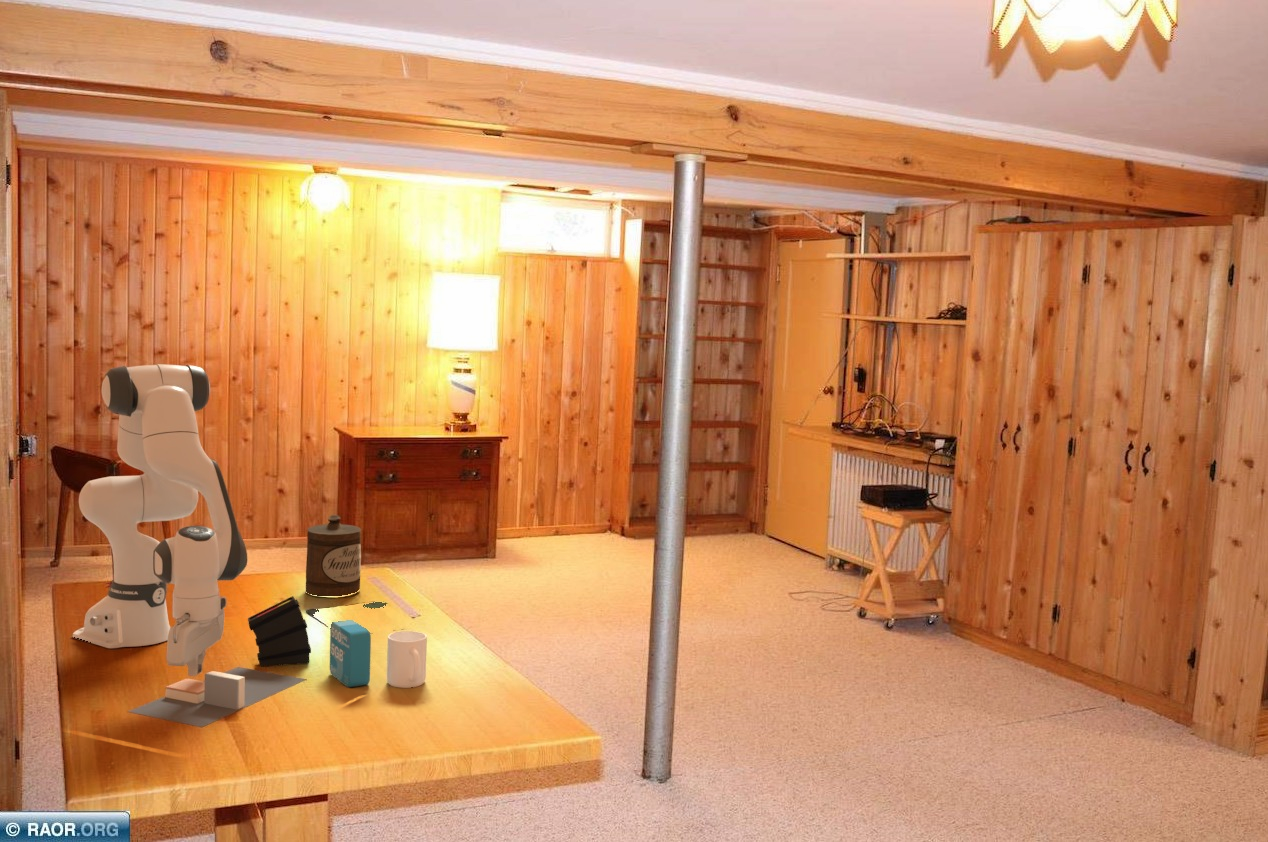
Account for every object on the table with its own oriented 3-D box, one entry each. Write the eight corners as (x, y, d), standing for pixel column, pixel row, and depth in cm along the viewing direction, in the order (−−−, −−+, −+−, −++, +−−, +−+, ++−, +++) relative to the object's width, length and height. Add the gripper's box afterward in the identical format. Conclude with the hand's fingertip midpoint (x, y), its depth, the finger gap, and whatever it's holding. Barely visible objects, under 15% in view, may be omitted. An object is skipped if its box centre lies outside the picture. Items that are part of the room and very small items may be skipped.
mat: (127, 714, 222) (127, 711, 222) (238, 669, 252) (238, 666, 252) (201, 730, 216) (201, 727, 216) (306, 681, 246) (306, 679, 246)
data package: (329, 673, 252) (330, 620, 251) (348, 670, 255) (349, 618, 254) (350, 689, 242) (351, 634, 241) (370, 686, 245) (371, 631, 244)
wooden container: (332, 601, 313) (334, 522, 311) (294, 592, 320) (295, 515, 318) (371, 591, 326) (372, 515, 324) (333, 583, 333) (334, 508, 331)
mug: (435, 691, 243) (437, 644, 242) (397, 696, 240) (398, 648, 239) (419, 674, 254) (420, 629, 253) (382, 678, 250) (383, 632, 249)
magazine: (324, 656, 259) (295, 598, 255) (269, 684, 255) (239, 626, 252) (322, 651, 262) (294, 594, 259) (268, 679, 259) (238, 622, 255)
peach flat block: (165, 686, 231) (187, 678, 236) (165, 697, 231) (187, 688, 237) (197, 692, 228) (218, 684, 234) (197, 703, 228) (218, 694, 234)
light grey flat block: (204, 703, 229) (204, 673, 228) (212, 699, 231) (212, 670, 230) (237, 709, 226) (237, 680, 225) (244, 706, 228) (244, 676, 227)
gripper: (190, 622, 221) (189, 691, 222) (230, 596, 241) (229, 660, 243) (158, 620, 221) (157, 690, 222) (200, 594, 242) (199, 658, 243)
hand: (195, 674), depth 233 cm, fingers closed
